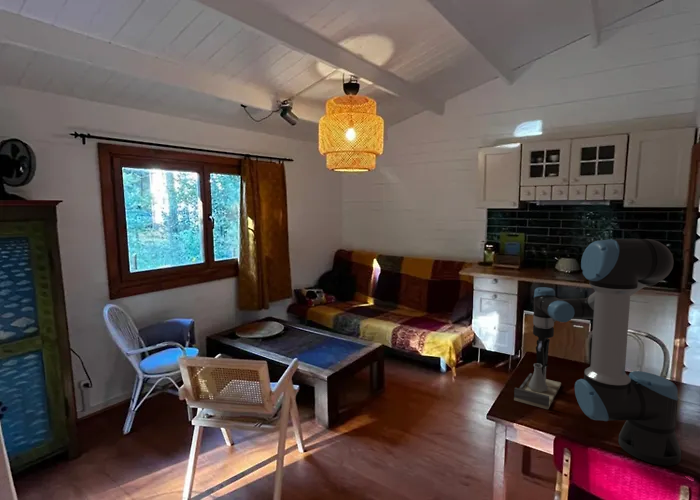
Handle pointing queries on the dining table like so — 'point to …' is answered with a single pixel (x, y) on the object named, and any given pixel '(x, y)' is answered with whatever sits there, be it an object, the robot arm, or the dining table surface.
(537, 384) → the flask
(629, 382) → the robot arm
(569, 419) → the dining table surface
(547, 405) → the stand board
